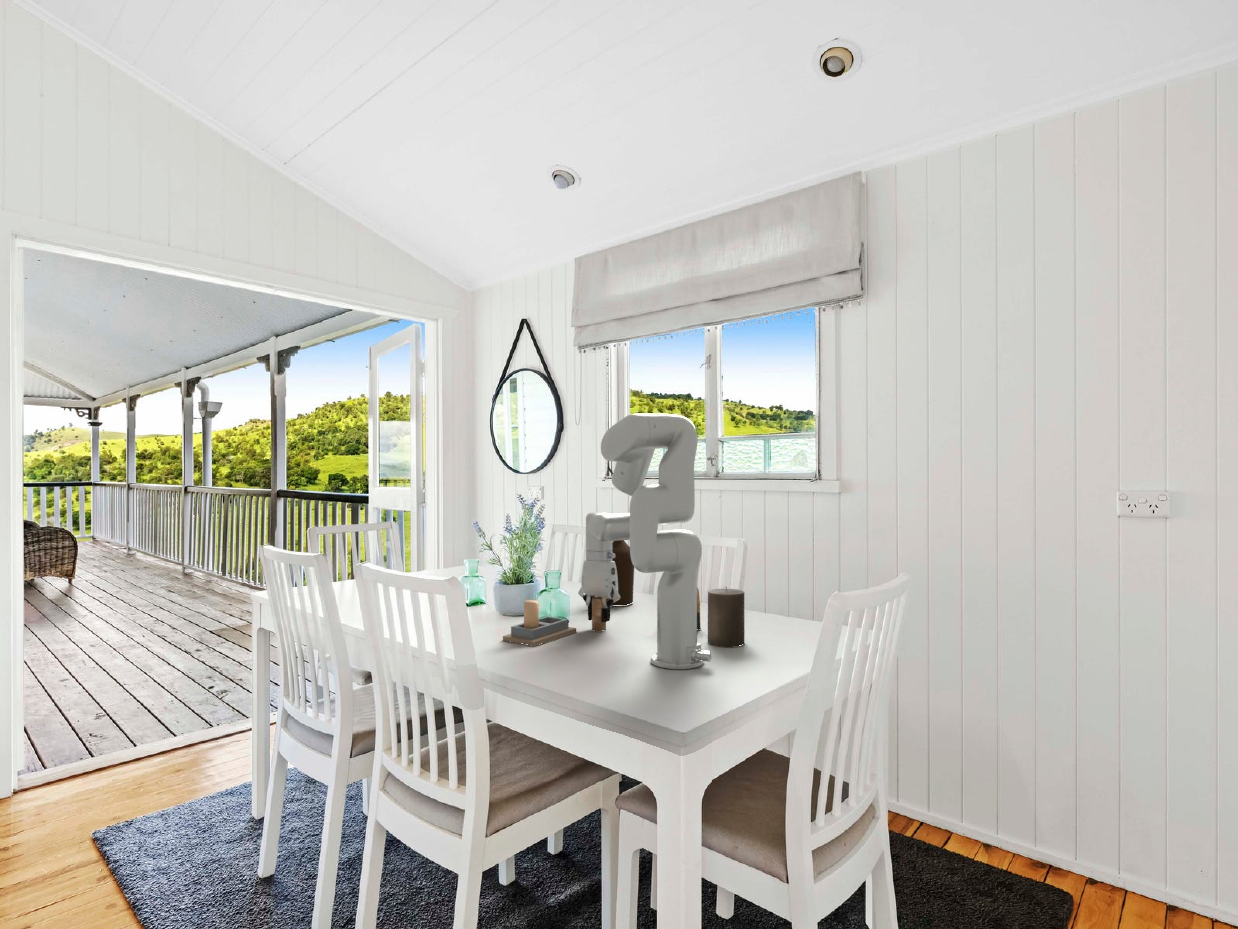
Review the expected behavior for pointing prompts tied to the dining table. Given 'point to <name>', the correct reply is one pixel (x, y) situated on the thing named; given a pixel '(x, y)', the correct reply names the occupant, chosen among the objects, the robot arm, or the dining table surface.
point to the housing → (538, 627)
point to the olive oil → (623, 572)
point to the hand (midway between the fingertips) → (598, 619)
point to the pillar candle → (726, 617)
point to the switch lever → (597, 614)
